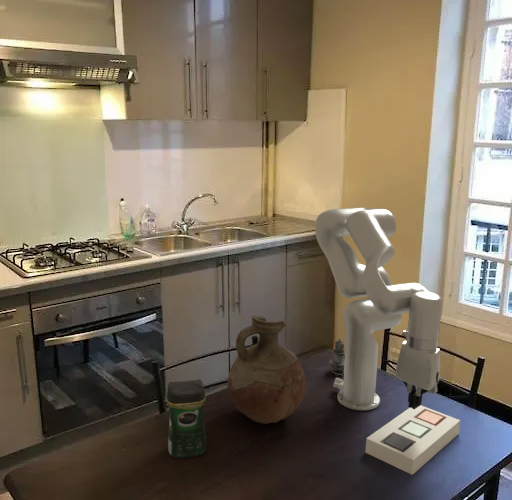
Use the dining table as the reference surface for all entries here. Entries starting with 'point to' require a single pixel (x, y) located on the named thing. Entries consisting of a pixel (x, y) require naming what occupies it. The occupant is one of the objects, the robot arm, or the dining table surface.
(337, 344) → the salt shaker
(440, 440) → the button panel
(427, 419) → the terracotta button
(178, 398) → the coffee jar
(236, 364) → the jug
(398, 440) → the charcoal button
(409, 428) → the sage button
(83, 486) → the dining table surface
